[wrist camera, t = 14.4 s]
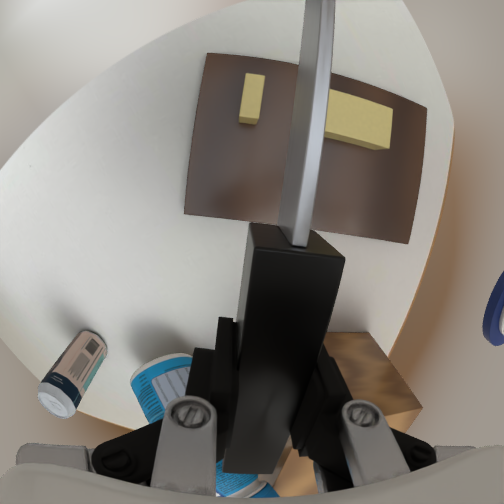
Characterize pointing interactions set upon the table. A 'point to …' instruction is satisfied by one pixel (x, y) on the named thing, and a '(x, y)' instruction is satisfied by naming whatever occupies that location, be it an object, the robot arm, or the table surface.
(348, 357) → the bread box
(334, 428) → the robot arm
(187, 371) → the blue jar
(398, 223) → the board
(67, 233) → the table surface
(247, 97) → the butter slice
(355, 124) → the butter stick
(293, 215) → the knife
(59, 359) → the beige cylinder
